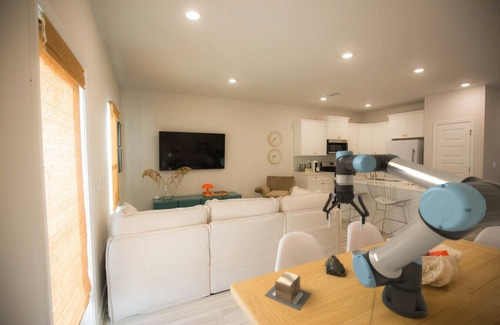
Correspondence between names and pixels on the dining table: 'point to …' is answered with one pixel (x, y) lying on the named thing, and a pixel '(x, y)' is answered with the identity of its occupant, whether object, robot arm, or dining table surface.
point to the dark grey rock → (334, 266)
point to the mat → (297, 301)
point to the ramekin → (357, 252)
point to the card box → (287, 287)
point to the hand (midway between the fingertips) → (345, 228)
